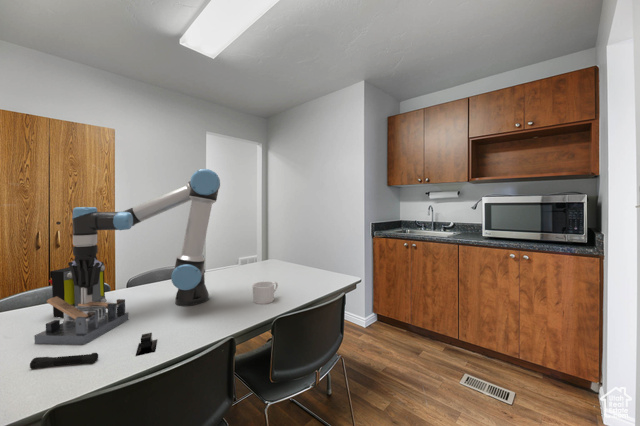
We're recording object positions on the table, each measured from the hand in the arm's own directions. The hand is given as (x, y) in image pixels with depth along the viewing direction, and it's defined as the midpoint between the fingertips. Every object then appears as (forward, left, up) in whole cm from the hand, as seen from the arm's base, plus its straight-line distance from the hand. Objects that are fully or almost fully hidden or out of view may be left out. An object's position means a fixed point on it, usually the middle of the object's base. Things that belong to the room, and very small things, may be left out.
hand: (86, 302), depth 109 cm
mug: (-67, -29, -9) cm, 73 cm away
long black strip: (-20, +27, -9) cm, 35 cm away
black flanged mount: (-38, +17, -9) cm, 43 cm away
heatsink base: (-6, +6, -8) cm, 12 cm away
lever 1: (-5, +13, +2) cm, 14 cm away
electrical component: (+16, -14, -9) cm, 23 cm away
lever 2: (-5, 0, -2) cm, 5 cm away
